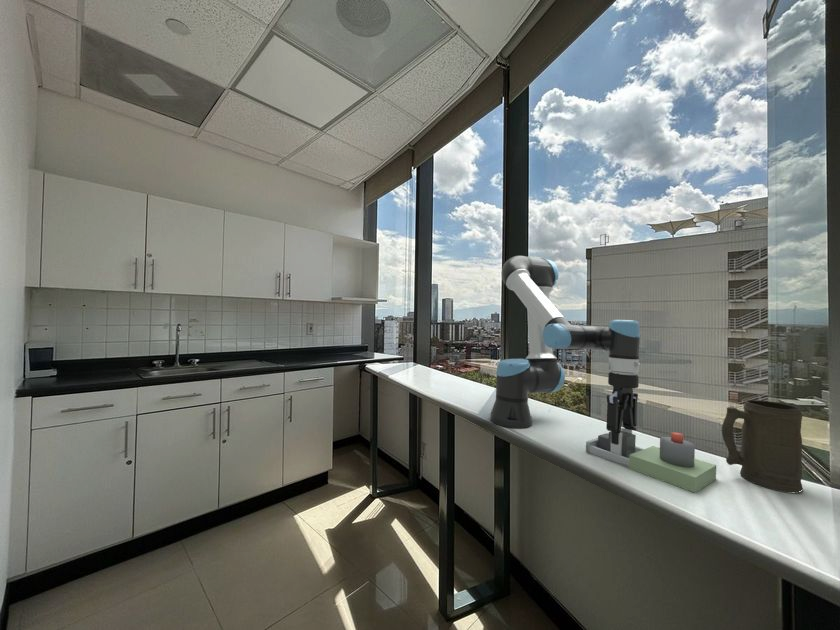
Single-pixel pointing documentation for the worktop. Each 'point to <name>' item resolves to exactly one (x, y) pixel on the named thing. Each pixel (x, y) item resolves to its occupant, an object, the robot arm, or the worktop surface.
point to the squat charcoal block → (627, 443)
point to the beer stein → (767, 444)
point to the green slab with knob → (665, 462)
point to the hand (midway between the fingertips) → (621, 453)
